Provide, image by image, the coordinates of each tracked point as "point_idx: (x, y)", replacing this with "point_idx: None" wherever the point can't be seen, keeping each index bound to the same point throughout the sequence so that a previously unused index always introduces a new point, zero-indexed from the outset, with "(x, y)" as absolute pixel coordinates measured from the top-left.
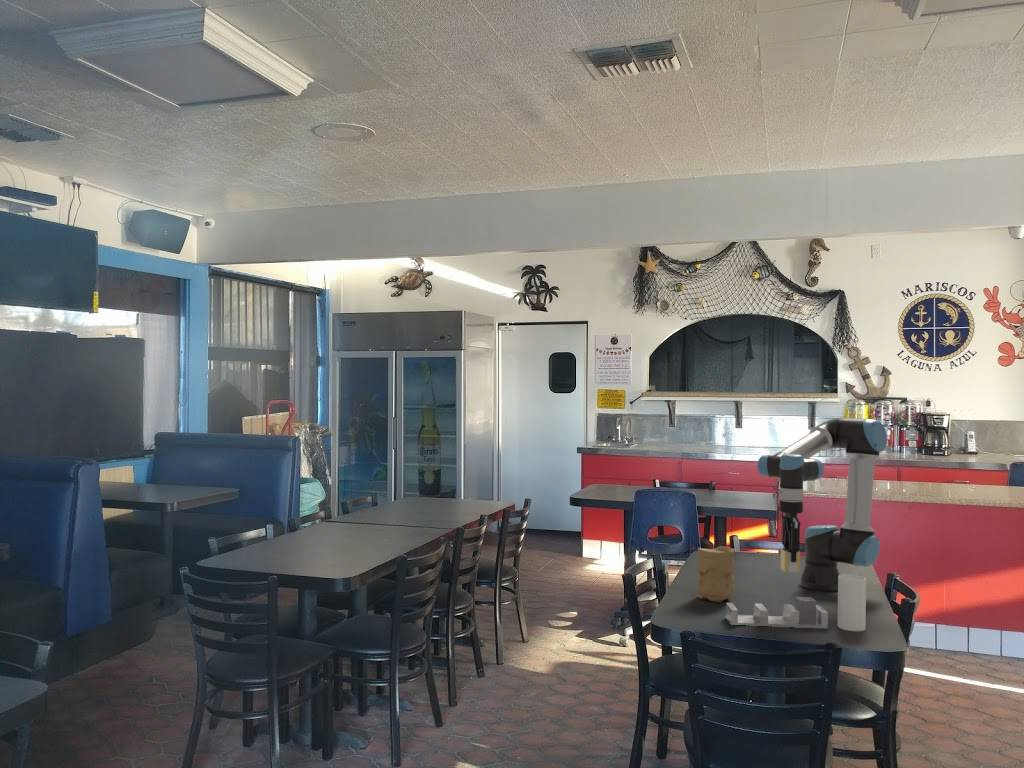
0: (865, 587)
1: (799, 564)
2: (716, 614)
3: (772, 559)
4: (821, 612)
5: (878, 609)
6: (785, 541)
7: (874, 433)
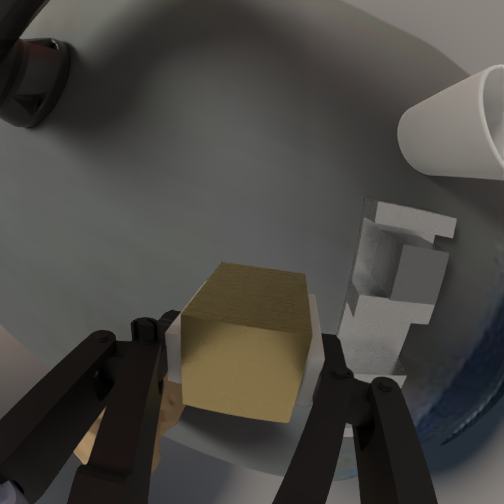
0: None
1: (307, 293)
2: None
3: None
4: (452, 237)
5: None
6: (157, 413)
7: None
